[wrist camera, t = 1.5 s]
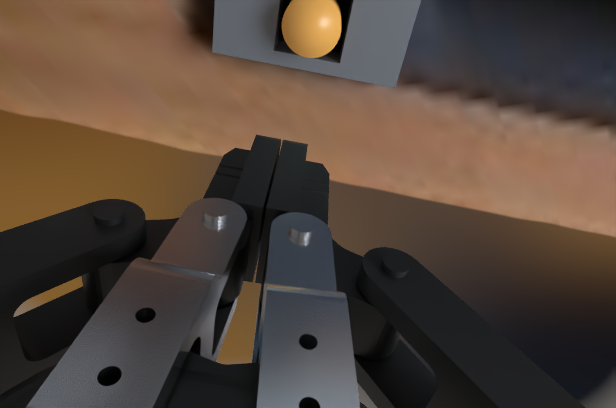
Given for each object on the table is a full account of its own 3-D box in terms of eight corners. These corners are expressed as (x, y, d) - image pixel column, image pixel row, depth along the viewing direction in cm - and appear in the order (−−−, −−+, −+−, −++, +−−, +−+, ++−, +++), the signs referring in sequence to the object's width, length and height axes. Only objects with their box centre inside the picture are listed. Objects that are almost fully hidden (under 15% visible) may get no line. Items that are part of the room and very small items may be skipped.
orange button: (291, -18, 30) (286, -11, 28) (346, -7, 31) (347, 1, 28) (283, 40, 33) (278, 52, 30) (334, 50, 33) (334, 63, 30)
